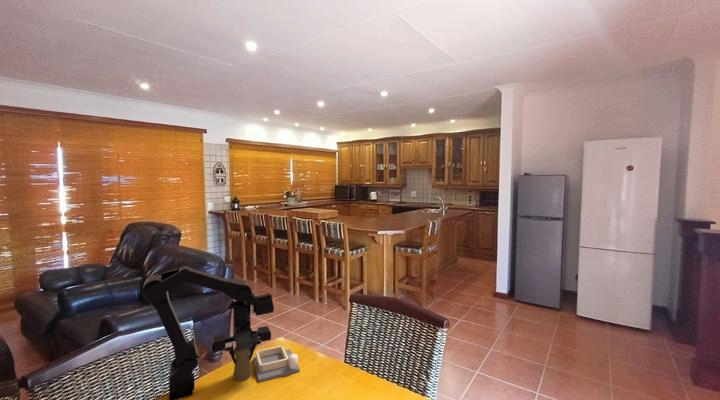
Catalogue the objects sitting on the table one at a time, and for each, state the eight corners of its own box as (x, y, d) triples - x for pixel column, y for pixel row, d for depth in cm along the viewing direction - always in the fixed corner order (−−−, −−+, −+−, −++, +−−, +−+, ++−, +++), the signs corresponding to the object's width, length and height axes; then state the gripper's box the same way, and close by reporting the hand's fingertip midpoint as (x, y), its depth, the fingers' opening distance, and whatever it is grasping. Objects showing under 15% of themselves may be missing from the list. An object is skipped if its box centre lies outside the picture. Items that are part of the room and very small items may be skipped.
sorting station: (258, 382, 108) (258, 368, 107) (252, 360, 120) (252, 347, 120) (299, 371, 114) (299, 358, 113) (290, 351, 126) (290, 339, 126)
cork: (248, 381, 108) (247, 350, 107) (230, 380, 108) (229, 349, 107) (254, 370, 114) (254, 340, 113) (237, 369, 114) (237, 340, 113)
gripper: (212, 334, 98) (213, 382, 99) (274, 323, 106) (274, 367, 108) (211, 319, 108) (212, 363, 109) (268, 309, 116) (268, 351, 118)
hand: (242, 361), depth 111 cm, fingers closed on cork, 5 cm apart
